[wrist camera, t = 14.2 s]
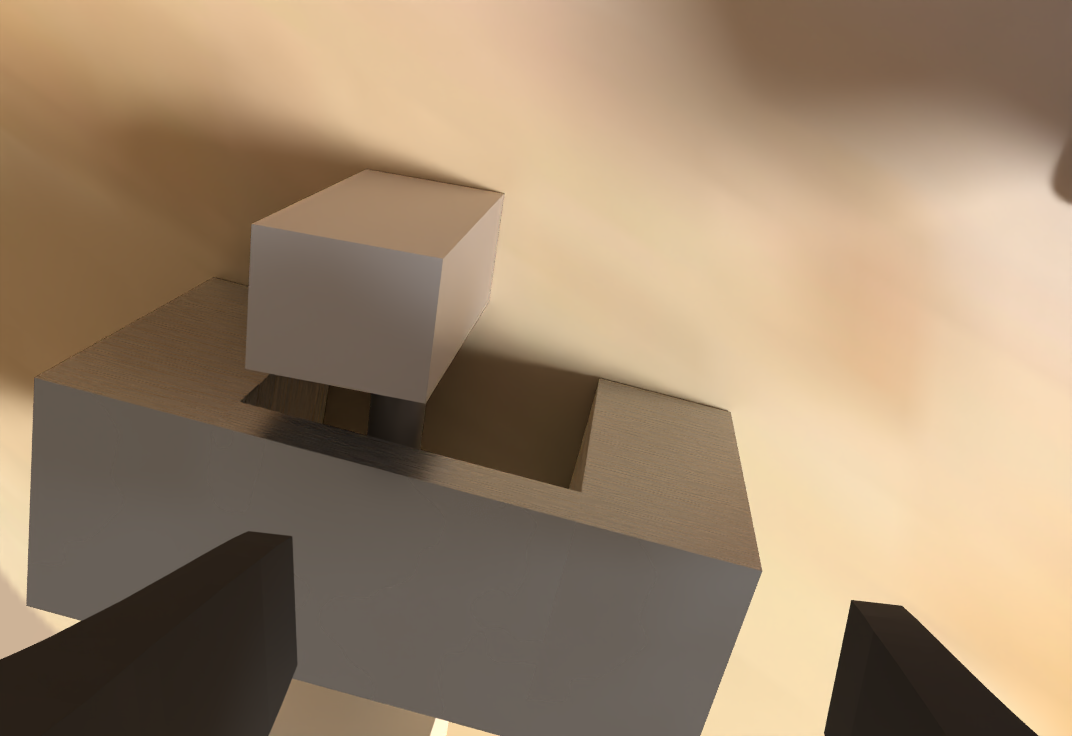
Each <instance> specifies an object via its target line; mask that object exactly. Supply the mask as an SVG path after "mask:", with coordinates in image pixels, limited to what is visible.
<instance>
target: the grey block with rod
mask: <svg viewBox="0 0 1072 736" xmlns="http://www.w3.org/2000/svg"><path fill="white" fill-rule="evenodd" d="M503 199H504V193H498V192H493V191H487V190H481V189H476V188H470V187H465V186H459V185H453V184H448V183H442V182H436V181H431V180H425V179H419V178H414V177H408V176H403V175H397V174H391V173H386V172H380V171H374V170H369V169H365V170H363V171H361V172H359V173H357V174H355V175H353V176H351V177H349V178H347V179H344V180H342V181H340V182H338V183H336V184H334V185H332V186H330V187H328V188H326V189H323V190H321V191H319V192H317V193H315V194H313V195H311V196H309V197H307V198H305V199H302V200H300V201H298V202H296V203H294V204H292V205H290V206H288V207H286V208H284V209H282V210H279V211H277V212H275V213H273V214H271V215H269V216H267V217H265V218H263V219H261V220H258V221H256V222H254V223H252V225H251V247H250V269H249V292H248V314H247V337H246V359H245V369H249V370H254V371H259V372H264V373H270V374H275V375H280V376H285V377H290V378H296V379H301V380H306V381H311V382H316V383H321V384H327V385H332V386H337V387H342V388H347V389H353V390H358V391H363V392H368V393H371V400H370V410H369V420H368V430H367V436H370V437H374V438H378V439H382V440H386V441H389V442H393V443H397V444H401V445H404V446H408V447H412V448H416V449H419V450H421V442H422V433H423V425H424V417H425V409H426V402H427V400H428V399H429V397H430V396H431V394H432V392H433V391H434V389H435V388H436V386H437V384H438V383H439V381H440V380H441V378H442V376H443V375H444V373H445V371H446V370H447V368H448V367H449V365H450V363H451V362H452V360H453V359H454V357H455V355H456V354H457V352H458V351H459V349H460V347H461V346H462V344H463V342H464V341H465V339H466V338H467V336H468V334H469V333H470V331H471V330H472V328H473V326H474V325H475V323H476V322H477V320H478V318H479V317H480V315H481V313H482V312H483V310H484V309H485V307H486V305H487V304H488V302H489V298H490V291H491V284H492V277H493V270H494V263H495V255H496V248H497V241H498V234H499V227H500V220H501V213H502V206H503ZM447 728H448V721H445V720H441V719H438V718H434V717H431V716H427V715H423V714H420V713H416V712H412V711H409V710H405V709H401V708H398V707H394V706H390V705H387V704H383V703H379V702H376V701H372V700H369V699H365V698H361V697H358V696H354V695H350V694H347V693H343V692H339V691H336V690H332V689H328V688H325V687H321V686H318V685H314V684H310V683H307V682H303V681H299V680H296V679H292V680H291V683H290V685H289V688H288V690H287V693H286V696H285V698H284V701H283V703H282V706H281V708H280V710H279V713H278V715H277V717H276V720H275V722H274V724H273V727H272V729H271V731H270V734H269V735H268V736H446V734H447Z"/></svg>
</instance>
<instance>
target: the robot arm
mask: <svg viewBox="0 0 1072 736" xmlns="http://www.w3.org/2000/svg"><path fill="white" fill-rule="evenodd" d="M297 665H298V664H297V639H296V614H295V589H294V563H293V538H292V536H288V535H279V534H270V533H261V532H253V531H247V532H245V533H243V534H241V535H239V536H236V537H234V538H232V539H231V540H229V541H227V542H225V543H223V544H221V545H219V546H218V547H216V548H214V549H212V550H210V551H209V552H207V553H205V554H203V555H201V556H200V557H198V558H196V559H194V560H193V561H191V562H189V563H187V564H186V565H184V566H182V567H180V568H179V569H177V570H175V571H173V572H172V573H170V574H168V575H166V576H164V577H163V578H161V579H159V580H157V581H156V582H154V583H152V584H150V585H148V586H147V587H145V588H143V589H141V590H139V591H138V592H136V593H134V594H132V595H131V596H129V597H127V598H125V599H123V600H121V601H120V602H118V603H116V604H114V605H112V606H110V607H108V608H106V609H104V610H102V611H100V612H98V613H96V614H94V615H92V616H90V617H88V618H86V619H84V620H82V621H80V622H78V623H77V624H75V625H73V626H71V627H69V628H67V629H65V630H63V631H61V632H59V633H57V634H55V635H53V636H51V637H49V638H47V639H45V640H43V641H41V642H39V643H36V644H34V645H32V646H30V647H28V648H25V649H23V650H21V651H19V652H17V653H14V654H12V655H10V656H8V657H5V658H3V659H1V660H0V736H268V735H269V734H270V731H271V729H272V727H273V724H274V722H275V720H276V717H277V715H278V713H279V710H280V708H281V706H282V703H283V701H284V698H285V696H286V693H287V690H288V688H289V685H290V683H291V680H292V678H293V675H294V673H295V670H296V668H297ZM824 734H825V736H1038V735H1037V734H1036V733H1035V732H1034V731H1033V730H1031V729H1030V728H1029V727H1028V726H1027V725H1026V724H1025V723H1024V722H1023V721H1021V720H1020V719H1019V718H1018V717H1017V716H1016V715H1015V714H1014V713H1013V712H1012V711H1011V710H1010V709H1008V708H1007V707H1006V706H1005V705H1004V704H1003V703H1002V702H1001V701H1000V700H999V699H998V698H997V697H996V696H995V695H994V694H993V693H992V692H990V691H989V690H988V689H987V688H986V687H985V686H984V685H983V684H982V683H981V682H980V681H979V680H978V679H977V678H976V677H975V676H974V675H973V674H972V673H971V672H970V671H969V670H968V669H967V668H966V667H965V666H964V665H963V664H962V663H961V662H960V661H959V660H958V659H957V658H956V657H955V656H954V655H952V654H951V653H950V652H949V651H948V650H947V649H946V648H945V647H944V646H943V645H942V644H941V643H940V642H939V641H938V640H937V639H936V638H935V637H934V636H933V635H932V634H931V633H930V632H929V631H928V630H927V629H926V628H925V627H924V626H923V625H922V624H921V623H920V622H919V621H918V620H917V619H916V618H915V617H914V616H913V615H912V614H910V613H909V612H908V611H907V610H906V609H905V608H904V607H903V606H899V605H890V604H881V603H872V602H864V601H855V600H851V604H850V609H849V614H848V619H847V624H846V629H845V633H844V638H843V643H842V648H841V653H840V658H839V663H838V668H837V672H836V677H835V682H834V687H833V692H832V697H831V702H830V707H829V711H828V716H827V721H826V726H825V731H824Z"/></svg>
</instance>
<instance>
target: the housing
mask: <svg viewBox="0 0 1072 736" xmlns="http://www.w3.org/2000/svg"><path fill="white" fill-rule="evenodd" d="M248 292H249V286H245V285H241V284H237V283H233V282H229V281H226V280H222V279H218V278H214V277H213V278H212V279H210V280H208V281H206V282H204V283H203V284H201V285H199V286H197V287H196V288H194V289H192V290H190V291H188V292H187V293H185V294H183V295H181V296H179V297H178V298H176V299H174V300H172V301H170V302H169V303H167V304H165V305H163V306H162V307H160V308H158V309H156V310H154V311H153V312H151V313H149V314H147V315H145V316H144V317H142V318H140V319H138V320H136V321H135V322H133V323H131V324H129V325H128V326H126V327H124V328H122V329H120V330H119V331H117V332H115V333H113V334H111V335H110V336H108V337H106V338H104V339H103V340H101V341H99V342H97V343H95V344H94V345H92V346H90V347H88V348H86V349H85V350H83V351H81V352H79V353H77V354H76V355H74V356H72V357H70V358H69V359H67V360H65V361H63V362H61V363H60V364H58V365H56V366H54V367H52V368H51V369H49V370H47V371H45V372H43V373H42V374H40V375H38V376H36V377H35V378H34V404H33V433H32V462H31V490H30V519H29V548H28V576H27V605H26V606H30V607H33V608H37V609H40V610H44V611H48V612H51V613H55V614H59V615H62V616H66V617H70V618H73V619H77V620H81V621H82V620H84V619H86V618H88V617H90V616H92V615H94V614H96V613H98V612H100V611H102V610H104V609H106V608H108V607H110V606H112V605H114V604H116V603H118V602H120V601H121V600H123V599H125V598H127V597H129V596H131V595H132V594H134V593H136V592H138V591H139V590H141V589H143V588H145V587H147V586H148V585H150V584H152V583H154V582H156V581H157V580H159V579H161V578H163V577H164V576H166V575H168V574H170V573H172V572H173V571H175V570H177V569H179V568H180V567H182V566H184V565H186V564H187V563H189V562H191V561H193V560H194V559H196V558H198V557H200V556H201V555H203V554H205V553H207V552H209V551H210V550H212V549H214V548H216V547H218V546H219V545H221V544H223V543H225V542H227V541H229V540H231V539H232V538H234V537H236V536H239V535H241V534H243V533H245V532H247V531H253V532H261V533H270V534H279V535H288V536H292V538H293V563H294V589H295V614H296V639H297V664H298V665H297V668H296V670H295V673H294V675H293V678H292V679H296V680H299V681H303V682H307V683H310V684H314V685H318V686H321V687H325V688H328V689H332V690H336V691H339V692H343V693H347V694H350V695H354V696H358V697H361V698H365V699H369V700H372V701H376V702H379V703H383V704H387V705H390V706H394V707H398V708H401V709H405V710H409V711H412V712H416V713H420V714H423V715H427V716H431V717H434V718H438V719H441V720H445V721H449V722H452V723H456V724H460V725H463V726H467V727H471V728H474V729H478V730H482V731H485V732H489V733H492V734H496V735H500V736H700V735H701V732H702V730H703V727H704V724H705V722H706V719H707V716H708V714H709V711H710V708H711V706H712V703H713V700H714V698H715V695H716V692H717V690H718V687H719V684H720V682H721V679H722V677H723V674H724V671H725V669H726V666H727V663H728V661H729V658H730V655H731V653H732V650H733V647H734V645H735V642H736V639H737V637H738V634H739V631H740V629H741V626H742V623H743V621H744V618H745V615H746V613H747V610H748V607H749V605H750V602H751V600H752V597H753V594H754V592H755V589H756V586H757V584H758V581H759V578H760V576H761V573H762V568H761V563H760V558H759V553H758V548H757V543H756V538H755V533H754V528H753V522H752V517H751V512H750V507H749V502H748V497H747V492H746V487H745V482H744V477H743V472H742V467H741V462H740V457H739V452H738V447H737V442H736V437H735V432H734V427H733V422H732V417H731V412H728V411H724V410H720V409H717V408H713V407H709V406H705V405H701V404H697V403H694V402H690V401H686V400H682V399H678V398H674V397H671V396H667V395H663V394H659V393H655V392H651V391H648V390H644V389H640V388H636V387H632V386H628V385H625V384H621V383H617V382H613V381H609V380H605V379H602V378H599V382H598V385H597V389H596V392H595V396H594V400H593V403H592V407H591V411H590V414H589V418H588V421H587V425H586V429H585V432H584V436H583V440H582V443H581V447H580V450H579V454H578V458H577V461H576V465H575V469H574V472H573V476H572V479H571V483H570V487H569V489H567V488H563V487H559V486H555V485H552V484H548V483H544V482H540V481H537V480H533V479H529V478H525V477H521V476H518V475H514V474H510V473H506V472H503V471H499V470H495V469H491V468H487V467H484V466H480V465H476V464H472V463H469V462H465V461H461V460H457V459H453V458H450V457H446V456H442V455H438V454H435V453H431V452H427V451H423V450H419V449H416V448H412V447H408V446H404V445H401V444H397V443H393V442H389V441H386V440H382V439H378V438H374V437H370V436H367V435H363V434H359V433H355V432H352V431H348V430H344V429H340V428H336V427H333V426H329V425H325V424H323V420H324V413H325V407H326V401H327V395H328V389H329V385H327V384H321V383H316V382H311V381H306V380H301V379H296V378H290V377H285V376H280V375H275V374H270V373H264V372H259V371H254V370H249V369H245V359H246V337H247V314H248Z"/></svg>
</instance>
